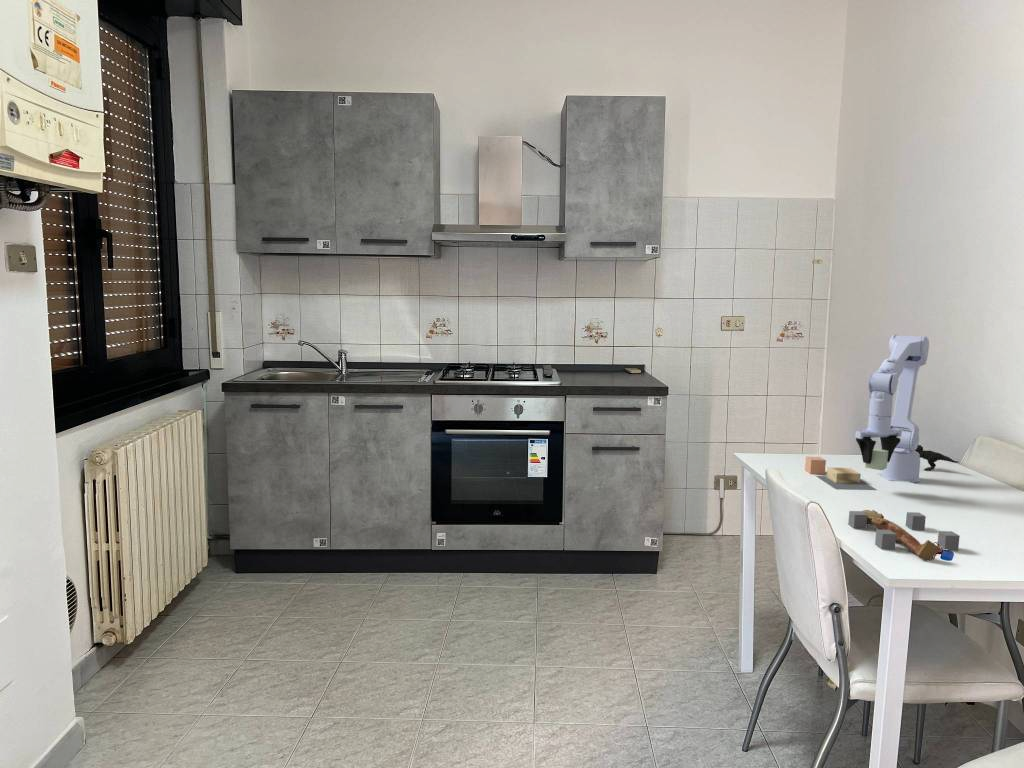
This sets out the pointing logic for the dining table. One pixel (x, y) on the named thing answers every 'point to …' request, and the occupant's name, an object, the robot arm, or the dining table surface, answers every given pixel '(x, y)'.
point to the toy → (932, 457)
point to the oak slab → (843, 475)
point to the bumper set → (913, 521)
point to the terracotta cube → (815, 465)
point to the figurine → (902, 535)
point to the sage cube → (878, 459)
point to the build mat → (846, 484)
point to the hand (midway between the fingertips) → (876, 462)
